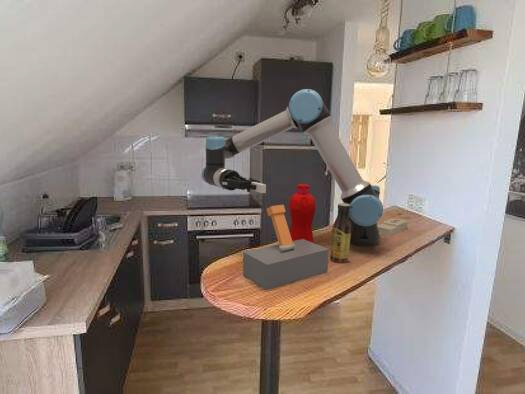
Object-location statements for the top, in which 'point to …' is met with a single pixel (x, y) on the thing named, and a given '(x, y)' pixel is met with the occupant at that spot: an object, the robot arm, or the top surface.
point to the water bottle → (302, 214)
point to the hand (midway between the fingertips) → (264, 188)
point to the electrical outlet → (392, 226)
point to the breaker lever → (281, 227)
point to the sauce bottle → (341, 234)
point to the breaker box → (284, 264)
